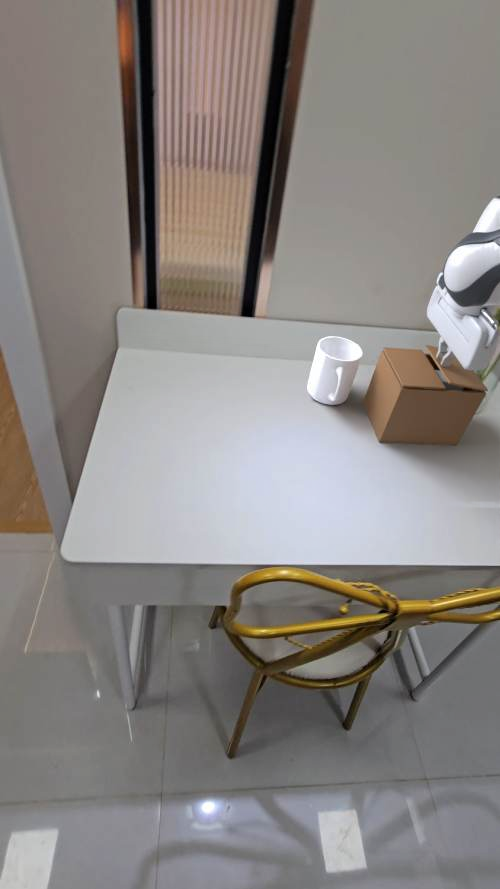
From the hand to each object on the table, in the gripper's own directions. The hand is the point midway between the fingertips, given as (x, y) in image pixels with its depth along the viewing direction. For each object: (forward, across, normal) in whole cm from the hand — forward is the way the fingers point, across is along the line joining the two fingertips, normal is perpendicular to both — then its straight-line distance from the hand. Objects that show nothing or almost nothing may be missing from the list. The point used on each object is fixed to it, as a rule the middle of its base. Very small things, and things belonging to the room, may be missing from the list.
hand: (442, 362), depth 91 cm
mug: (+16, +8, +17) cm, 25 cm away
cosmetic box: (+15, 0, -3) cm, 16 cm away
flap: (+1, 0, -3) cm, 3 cm away
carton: (+16, 0, +1) cm, 16 cm away
